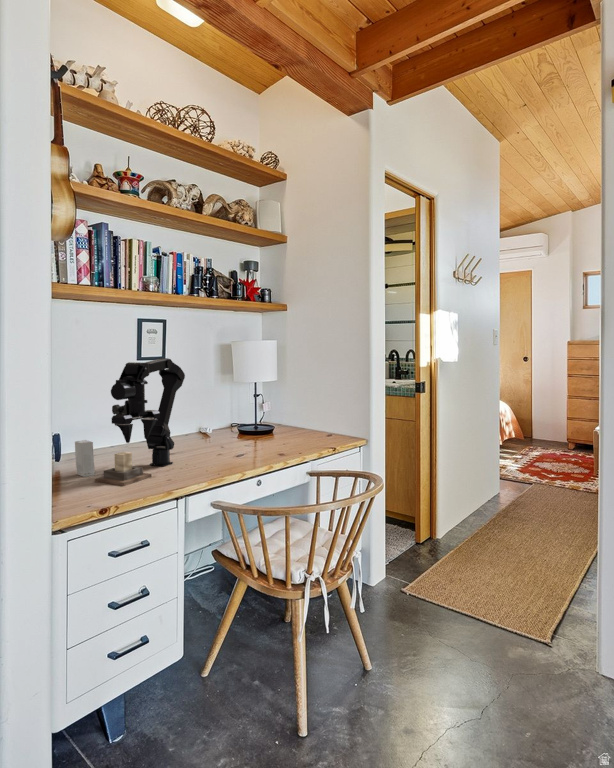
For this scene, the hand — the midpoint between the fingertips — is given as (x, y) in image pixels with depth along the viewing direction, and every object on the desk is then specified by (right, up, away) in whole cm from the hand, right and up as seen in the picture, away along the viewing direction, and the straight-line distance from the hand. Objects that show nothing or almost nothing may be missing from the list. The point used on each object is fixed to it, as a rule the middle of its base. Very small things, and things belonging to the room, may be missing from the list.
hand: (137, 440), depth 178 cm
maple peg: (-2, -12, -7) cm, 14 cm away
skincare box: (-18, -12, -1) cm, 22 cm away
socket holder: (-2, -13, -7) cm, 14 cm away
